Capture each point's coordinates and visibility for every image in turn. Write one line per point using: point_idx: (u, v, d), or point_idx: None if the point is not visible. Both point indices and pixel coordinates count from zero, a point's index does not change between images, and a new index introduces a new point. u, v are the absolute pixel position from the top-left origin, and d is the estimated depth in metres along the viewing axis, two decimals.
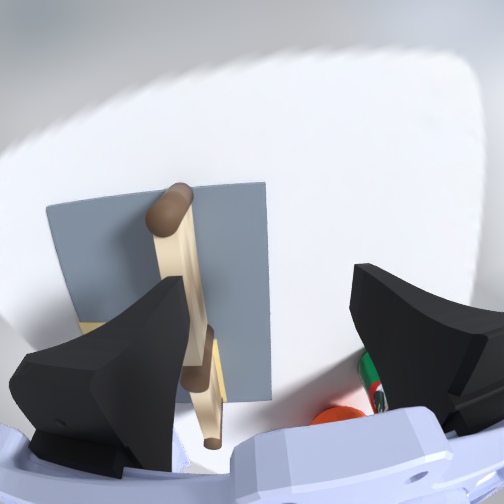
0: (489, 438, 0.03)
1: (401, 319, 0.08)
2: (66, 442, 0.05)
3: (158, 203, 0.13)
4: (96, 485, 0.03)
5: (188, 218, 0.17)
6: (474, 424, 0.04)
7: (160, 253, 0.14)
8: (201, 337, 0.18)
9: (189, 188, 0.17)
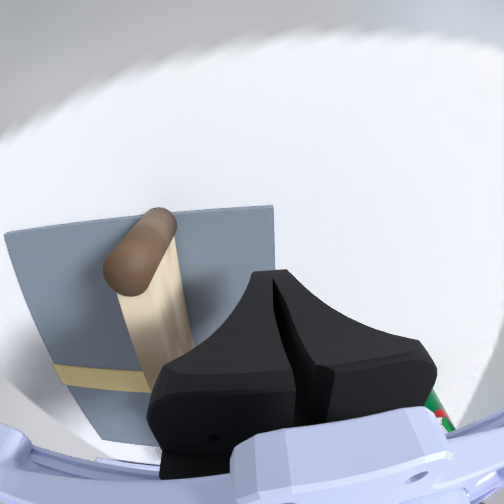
0: (489, 438, 0.03)
1: (290, 333, 0.08)
2: (214, 460, 0.05)
3: (119, 249, 0.09)
4: (96, 485, 0.03)
5: (169, 258, 0.12)
6: None
7: (128, 315, 0.10)
8: None
9: (171, 216, 0.13)
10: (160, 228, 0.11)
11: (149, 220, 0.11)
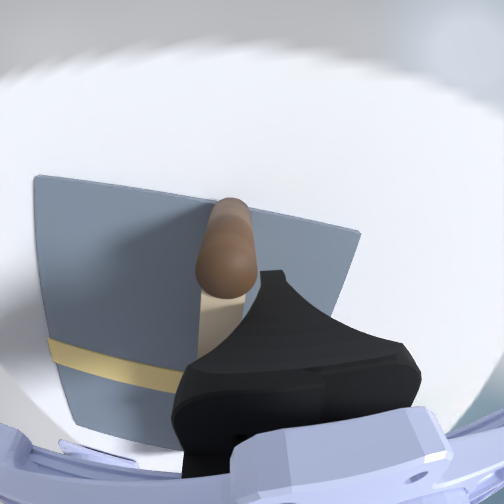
0: (489, 438, 0.03)
1: None
2: None
3: (226, 242, 0.08)
4: (96, 485, 0.03)
5: None
6: None
7: (206, 318, 0.09)
8: None
9: (249, 210, 0.12)
10: (249, 223, 0.10)
11: (236, 211, 0.10)
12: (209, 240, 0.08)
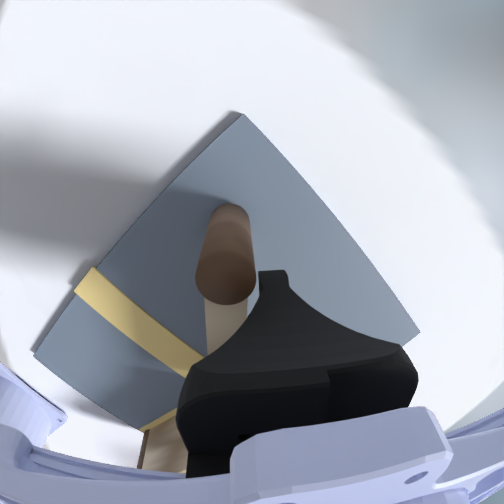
0: (489, 438, 0.03)
1: None
2: None
3: (222, 250, 0.08)
4: (96, 485, 0.03)
5: None
6: None
7: (212, 325, 0.09)
8: None
9: (247, 214, 0.12)
10: (246, 227, 0.10)
11: (233, 217, 0.10)
12: (206, 249, 0.08)
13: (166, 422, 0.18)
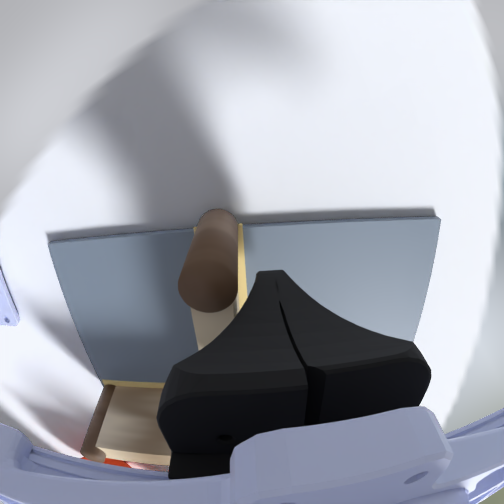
0: (489, 438, 0.03)
1: None
2: (224, 459, 0.05)
3: (201, 259, 0.08)
4: (96, 485, 0.03)
5: None
6: None
7: (201, 332, 0.09)
8: None
9: (233, 218, 0.12)
10: (231, 233, 0.10)
11: (217, 223, 0.10)
12: (187, 259, 0.08)
13: (146, 390, 0.16)
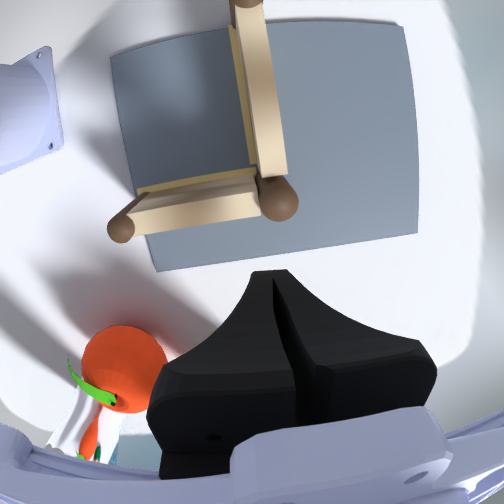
0: (489, 438, 0.03)
1: (290, 333, 0.08)
2: (214, 459, 0.05)
3: None
4: (96, 485, 0.03)
5: None
6: None
7: (242, 24, 0.11)
8: None
9: None
10: None
11: None
12: None
13: (181, 186, 0.18)
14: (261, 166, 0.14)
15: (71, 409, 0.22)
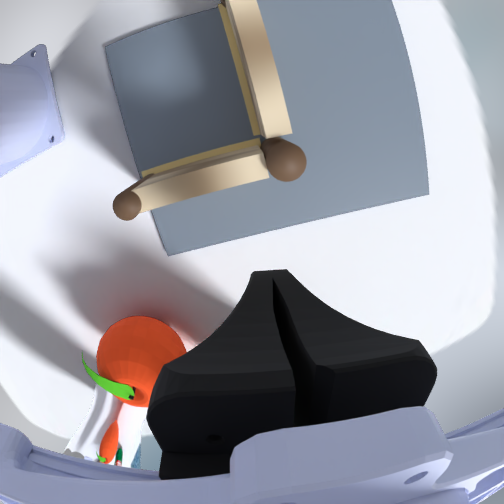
0: (489, 438, 0.03)
1: (290, 333, 0.08)
2: (214, 460, 0.05)
3: None
4: (96, 485, 0.03)
5: None
6: None
7: None
8: None
9: None
10: None
11: None
12: None
13: (185, 164, 0.18)
14: (265, 127, 0.13)
15: (90, 410, 0.22)
